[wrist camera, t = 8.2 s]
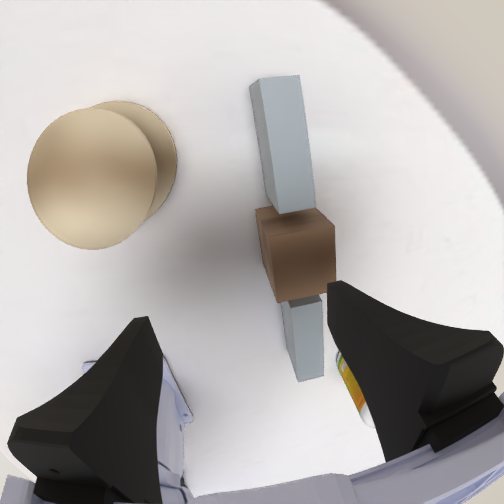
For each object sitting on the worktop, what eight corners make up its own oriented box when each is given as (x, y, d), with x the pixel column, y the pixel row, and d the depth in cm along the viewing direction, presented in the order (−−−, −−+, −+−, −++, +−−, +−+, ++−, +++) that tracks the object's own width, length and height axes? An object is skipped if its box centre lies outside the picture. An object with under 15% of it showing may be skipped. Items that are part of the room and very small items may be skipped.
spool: (188, 210, 20) (182, 241, 15) (79, 236, 19) (47, 270, 15) (163, 86, 16) (146, 76, 12) (49, 124, 16) (6, 130, 11)
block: (311, 254, 22) (336, 290, 18) (263, 263, 22) (277, 303, 18) (307, 200, 21) (334, 225, 16) (255, 208, 20) (268, 237, 16)
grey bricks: (309, 342, 26) (323, 375, 22) (286, 348, 26) (298, 382, 22) (281, 82, 17) (299, 75, 14) (249, 86, 17) (259, 79, 13)
